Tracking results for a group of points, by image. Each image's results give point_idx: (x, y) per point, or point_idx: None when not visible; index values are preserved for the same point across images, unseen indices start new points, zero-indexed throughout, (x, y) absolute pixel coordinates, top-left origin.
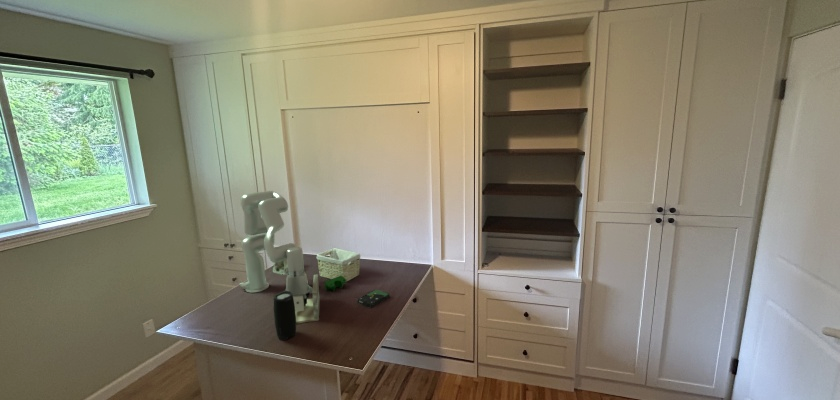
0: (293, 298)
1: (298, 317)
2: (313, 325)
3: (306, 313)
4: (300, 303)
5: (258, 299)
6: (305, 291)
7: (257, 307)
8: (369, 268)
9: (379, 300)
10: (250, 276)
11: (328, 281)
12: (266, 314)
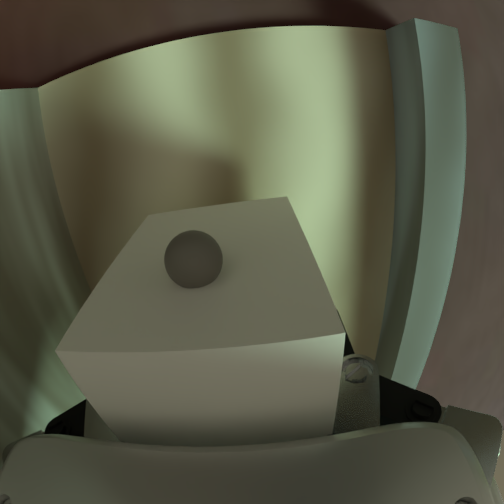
0: (303, 349)
1: (208, 123)
2: (50, 16)
3: (137, 205)
4: (155, 265)
5: (474, 405)
6: (24, 476)
7: (500, 348)
8: None
9: None
10: (493, 487)
11: None
12: (486, 271)
